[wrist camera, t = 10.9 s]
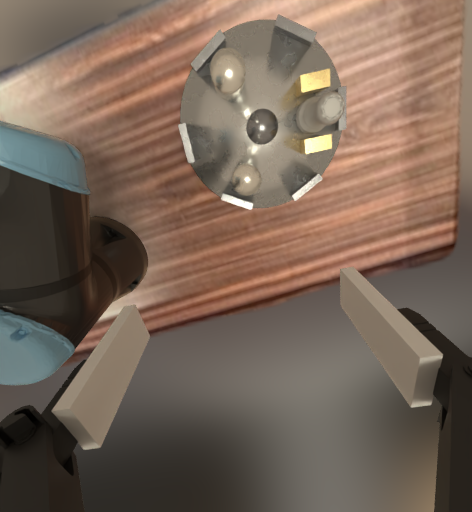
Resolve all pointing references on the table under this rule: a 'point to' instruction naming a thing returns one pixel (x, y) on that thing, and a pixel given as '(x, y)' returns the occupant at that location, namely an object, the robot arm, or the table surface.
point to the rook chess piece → (319, 112)
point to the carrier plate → (258, 113)
